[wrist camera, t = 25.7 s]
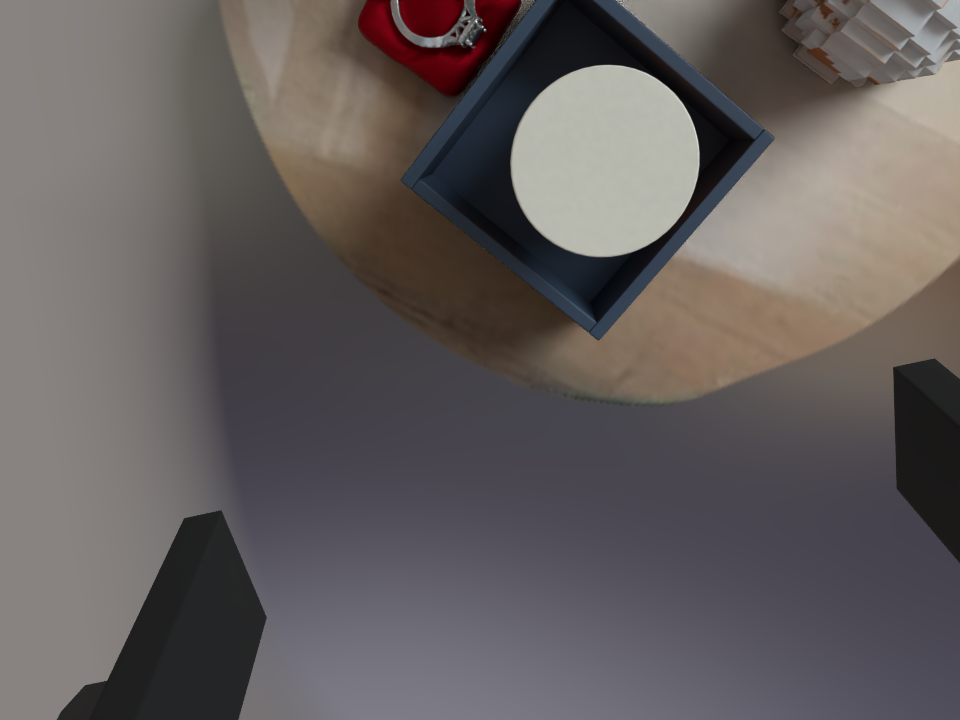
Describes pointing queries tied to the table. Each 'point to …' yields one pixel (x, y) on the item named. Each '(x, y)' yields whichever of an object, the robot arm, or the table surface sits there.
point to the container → (604, 161)
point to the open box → (490, 133)
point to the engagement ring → (438, 36)
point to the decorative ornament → (874, 37)
